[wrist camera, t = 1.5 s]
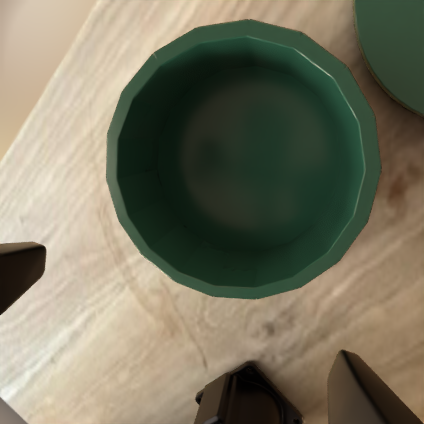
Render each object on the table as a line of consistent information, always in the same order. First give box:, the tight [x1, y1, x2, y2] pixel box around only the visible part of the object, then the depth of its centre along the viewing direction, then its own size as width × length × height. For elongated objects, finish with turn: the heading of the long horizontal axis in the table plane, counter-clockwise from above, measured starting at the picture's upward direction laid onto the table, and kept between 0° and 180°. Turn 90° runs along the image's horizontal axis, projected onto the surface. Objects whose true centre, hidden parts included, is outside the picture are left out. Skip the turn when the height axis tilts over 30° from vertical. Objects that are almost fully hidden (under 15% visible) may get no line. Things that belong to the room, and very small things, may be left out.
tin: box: [106, 19, 382, 299], centre depth 17 cm, size 13×14×6 cm
